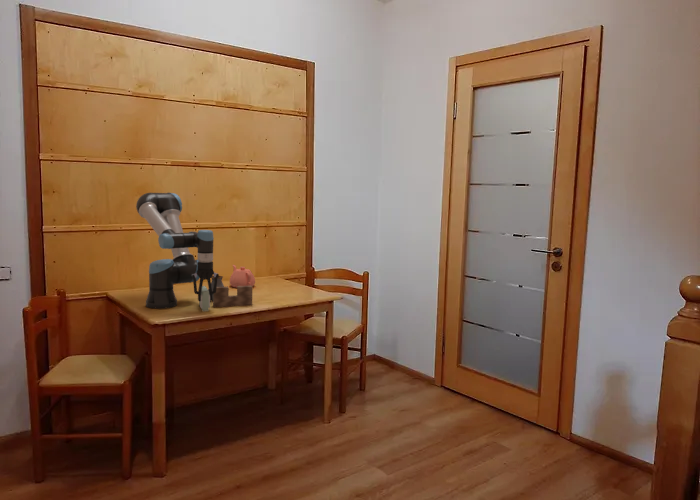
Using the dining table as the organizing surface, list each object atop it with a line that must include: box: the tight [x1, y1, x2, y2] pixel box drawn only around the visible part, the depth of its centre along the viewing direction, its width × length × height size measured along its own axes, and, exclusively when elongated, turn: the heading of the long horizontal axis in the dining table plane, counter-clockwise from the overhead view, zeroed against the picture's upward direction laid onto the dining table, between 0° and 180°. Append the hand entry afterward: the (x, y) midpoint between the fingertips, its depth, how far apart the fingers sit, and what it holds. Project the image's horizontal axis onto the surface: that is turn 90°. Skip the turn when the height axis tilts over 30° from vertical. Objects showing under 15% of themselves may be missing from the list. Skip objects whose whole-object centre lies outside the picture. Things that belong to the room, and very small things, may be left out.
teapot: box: [229, 264, 256, 289], centre depth 328 cm, size 22×16×12 cm
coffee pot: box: [207, 274, 225, 302], centre depth 293 cm, size 21×12×15 cm, turn 33°
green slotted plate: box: [198, 285, 210, 312], centre depth 270 cm, size 3×14×10 cm, turn 22°
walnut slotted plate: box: [212, 286, 253, 308], centre depth 278 cm, size 20×3×10 cm, turn 112°
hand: (205, 307), depth 266 cm, fingers closed on green slotted plate, 3 cm apart
